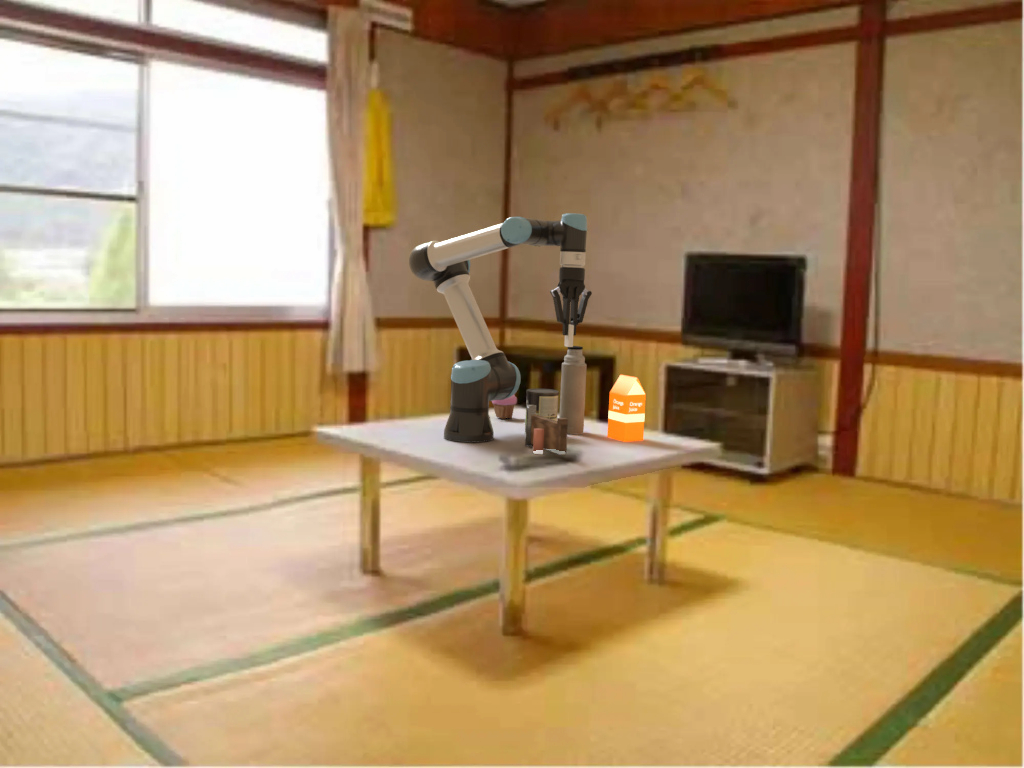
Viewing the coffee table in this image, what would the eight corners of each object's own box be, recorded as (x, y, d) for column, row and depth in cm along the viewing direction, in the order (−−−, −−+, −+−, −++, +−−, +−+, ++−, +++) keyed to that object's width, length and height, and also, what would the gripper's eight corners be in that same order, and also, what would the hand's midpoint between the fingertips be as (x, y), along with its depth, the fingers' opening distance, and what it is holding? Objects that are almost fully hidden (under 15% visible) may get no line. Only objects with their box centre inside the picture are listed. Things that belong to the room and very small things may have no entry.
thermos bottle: (559, 429, 309) (563, 344, 306) (583, 430, 309) (587, 345, 305) (558, 433, 301) (562, 346, 298) (583, 434, 301) (587, 347, 297)
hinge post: (526, 446, 277) (527, 405, 276) (524, 444, 280) (526, 404, 278) (535, 446, 277) (537, 406, 276) (533, 444, 280) (535, 404, 279)
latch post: (533, 454, 265) (534, 430, 264) (531, 452, 268) (532, 428, 267) (544, 454, 265) (545, 430, 264) (542, 452, 268) (543, 428, 267)
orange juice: (624, 441, 291) (627, 377, 289) (606, 437, 298) (610, 374, 296) (643, 440, 295) (647, 377, 293) (626, 435, 303) (629, 374, 300)
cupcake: (520, 419, 327) (521, 391, 326) (498, 420, 322) (499, 391, 321) (507, 415, 334) (509, 388, 333) (486, 416, 330) (487, 388, 329)
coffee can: (521, 435, 294) (523, 391, 293) (528, 430, 304) (530, 387, 303) (553, 438, 292) (555, 393, 291) (559, 433, 302) (561, 389, 301)
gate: (529, 443, 276) (531, 409, 275) (536, 443, 277) (537, 409, 276) (559, 455, 260) (560, 419, 259) (566, 454, 261) (567, 419, 260)
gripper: (558, 266, 271) (554, 347, 274) (597, 267, 276) (593, 347, 279) (546, 265, 278) (543, 345, 281) (585, 267, 283) (582, 345, 286)
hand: (568, 346), depth 280 cm, fingers closed
